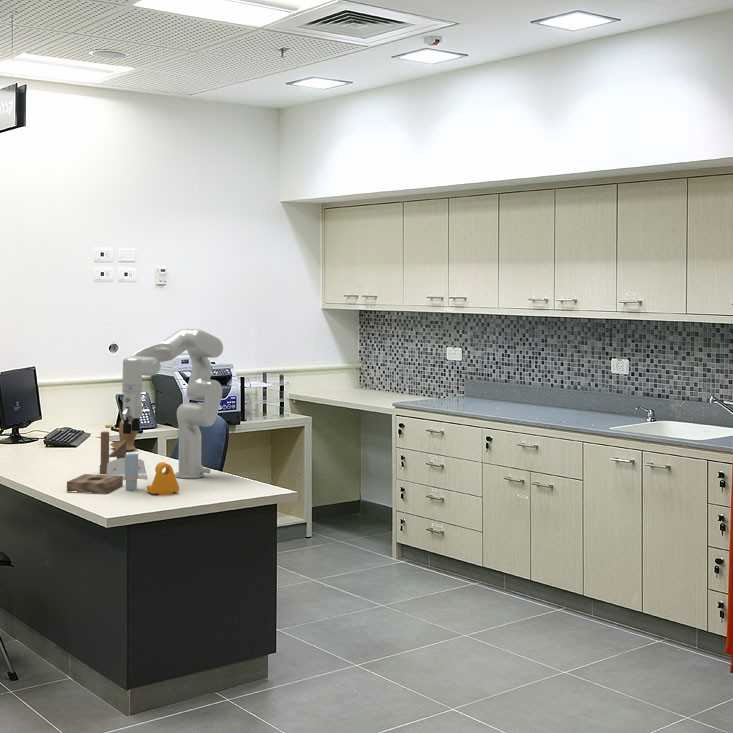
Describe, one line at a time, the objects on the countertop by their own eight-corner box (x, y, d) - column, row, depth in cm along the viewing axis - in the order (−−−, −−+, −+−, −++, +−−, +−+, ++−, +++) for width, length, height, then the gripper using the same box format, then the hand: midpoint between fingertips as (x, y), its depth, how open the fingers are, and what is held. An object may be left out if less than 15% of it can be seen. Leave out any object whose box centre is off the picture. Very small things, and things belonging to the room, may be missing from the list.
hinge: (108, 481, 419) (106, 457, 421) (105, 483, 423) (104, 459, 425) (148, 479, 426) (146, 455, 429) (145, 481, 430) (143, 457, 433)
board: (122, 485, 410) (122, 475, 410) (106, 493, 393) (106, 483, 392) (84, 483, 412) (84, 474, 412) (66, 492, 394) (66, 481, 394)
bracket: (172, 490, 403) (172, 460, 403) (178, 493, 397) (179, 463, 396) (146, 492, 398) (146, 462, 397) (152, 495, 392) (152, 464, 391)
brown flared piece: (141, 451, 501) (142, 421, 500) (117, 452, 495) (118, 422, 494) (133, 447, 514) (133, 417, 513) (109, 448, 508) (109, 418, 507)
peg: (138, 488, 405) (138, 453, 404) (134, 490, 401) (135, 455, 400) (127, 488, 405) (128, 453, 404) (124, 490, 401) (124, 455, 400)
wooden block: (126, 473, 439) (126, 431, 438) (100, 474, 435) (100, 432, 434) (124, 471, 442) (125, 430, 441) (99, 472, 438) (99, 431, 437)
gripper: (133, 391, 392) (133, 435, 393) (148, 387, 409) (147, 430, 410) (115, 390, 393) (114, 434, 394) (130, 387, 410) (129, 429, 411)
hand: (131, 432), depth 402 cm, fingers open, 9 cm apart
